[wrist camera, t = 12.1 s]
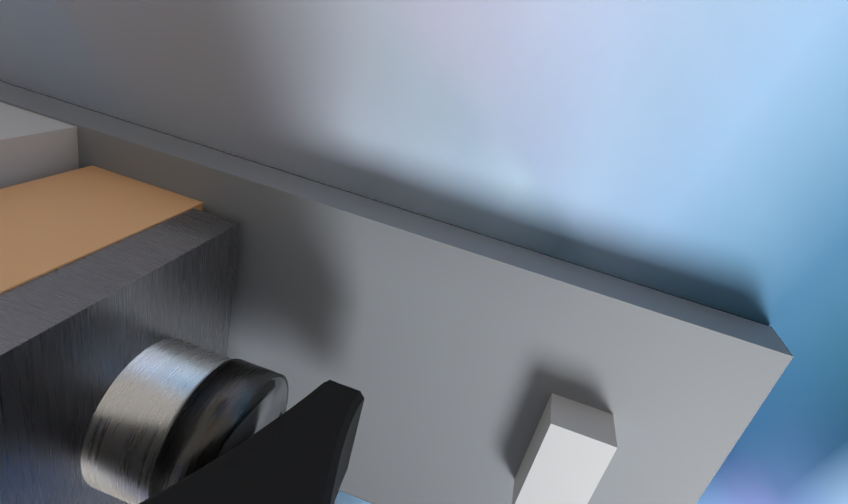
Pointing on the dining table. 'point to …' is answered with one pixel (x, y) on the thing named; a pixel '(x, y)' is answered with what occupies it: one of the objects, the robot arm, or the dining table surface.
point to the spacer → (75, 219)
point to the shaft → (127, 369)
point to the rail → (444, 332)
